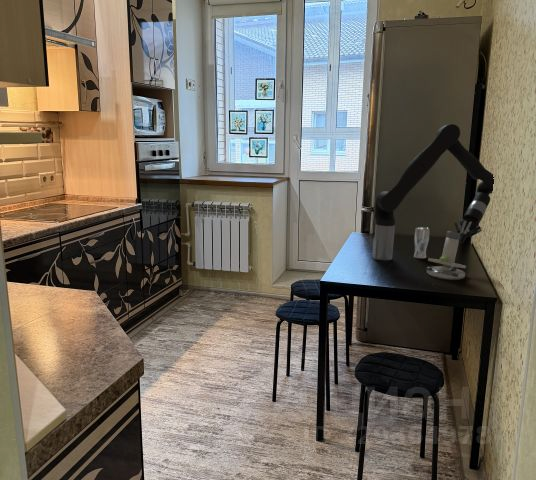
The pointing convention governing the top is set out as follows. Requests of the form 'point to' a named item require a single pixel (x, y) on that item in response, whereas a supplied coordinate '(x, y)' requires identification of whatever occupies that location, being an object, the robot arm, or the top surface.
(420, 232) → the beer glass
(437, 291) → the top surface
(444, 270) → the base
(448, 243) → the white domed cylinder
